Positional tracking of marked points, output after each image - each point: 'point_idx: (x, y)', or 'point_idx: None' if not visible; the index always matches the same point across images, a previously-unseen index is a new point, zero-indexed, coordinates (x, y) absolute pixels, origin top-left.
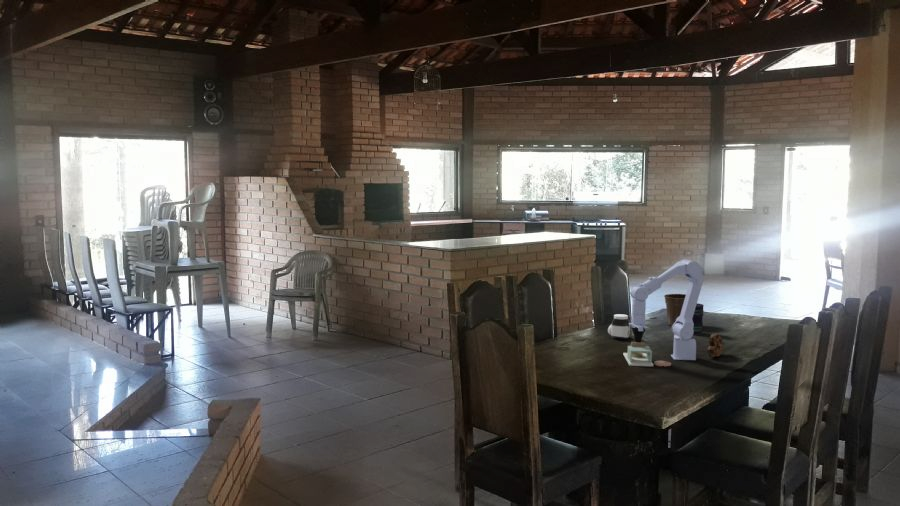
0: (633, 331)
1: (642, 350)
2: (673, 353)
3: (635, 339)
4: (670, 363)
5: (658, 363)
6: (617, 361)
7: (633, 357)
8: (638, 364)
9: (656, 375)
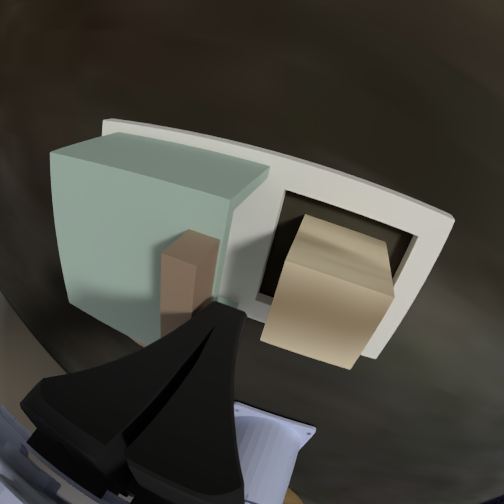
0: (49, 378)
1: (67, 252)
2: (267, 432)
3: (175, 332)
4: (136, 340)
5: None
6: (223, 58)
7: (274, 221)
8: None
9: (12, 196)
